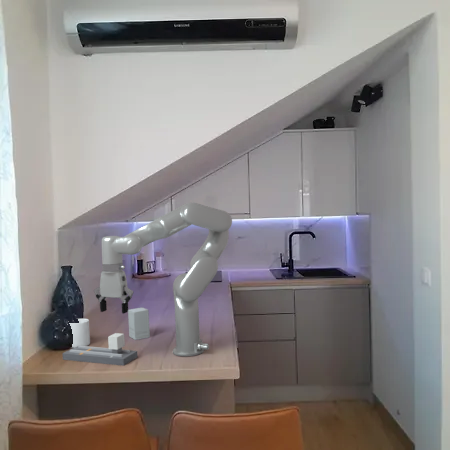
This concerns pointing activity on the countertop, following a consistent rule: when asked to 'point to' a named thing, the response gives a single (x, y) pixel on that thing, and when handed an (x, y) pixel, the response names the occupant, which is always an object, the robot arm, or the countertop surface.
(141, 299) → the countertop surface
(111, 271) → the robot arm
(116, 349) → the cap
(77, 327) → the mug
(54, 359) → the countertop surface
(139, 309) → the supplement box
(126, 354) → the fader console
